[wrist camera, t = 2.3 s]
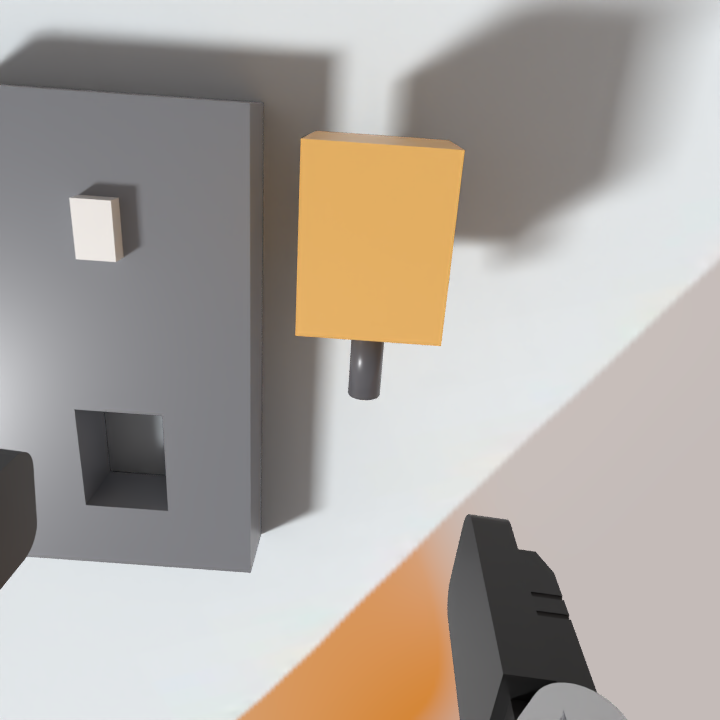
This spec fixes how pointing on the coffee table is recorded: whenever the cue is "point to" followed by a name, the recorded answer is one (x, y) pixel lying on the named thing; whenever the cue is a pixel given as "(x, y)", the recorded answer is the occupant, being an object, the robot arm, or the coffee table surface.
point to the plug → (375, 243)
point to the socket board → (134, 319)
